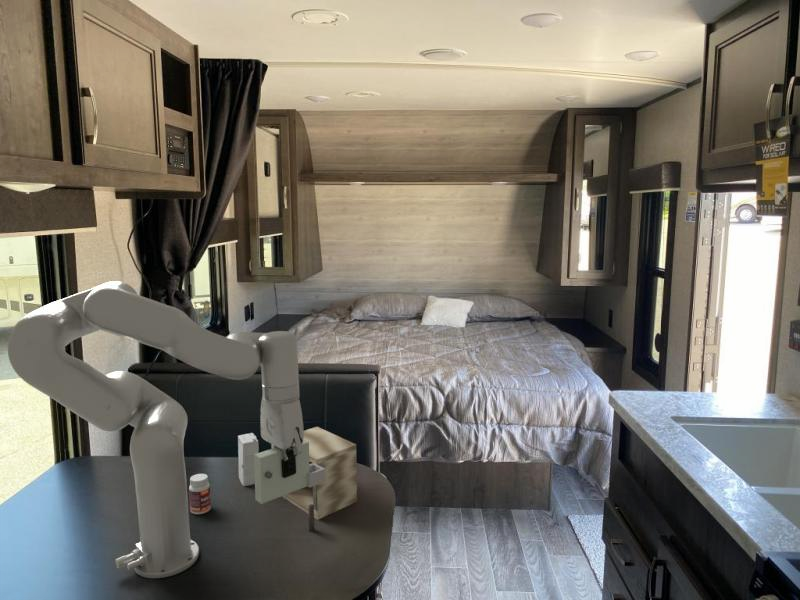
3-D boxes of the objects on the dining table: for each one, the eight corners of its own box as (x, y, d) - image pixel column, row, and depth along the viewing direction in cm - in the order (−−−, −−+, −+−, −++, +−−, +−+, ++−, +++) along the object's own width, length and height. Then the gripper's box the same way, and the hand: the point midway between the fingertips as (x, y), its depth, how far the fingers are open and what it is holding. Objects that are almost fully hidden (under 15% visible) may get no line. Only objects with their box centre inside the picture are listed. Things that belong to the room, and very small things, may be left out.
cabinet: (311, 532, 129) (309, 469, 126) (265, 501, 142) (263, 444, 140) (365, 506, 140) (364, 448, 137) (318, 479, 153) (317, 426, 151)
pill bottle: (204, 515, 135) (202, 482, 134) (186, 513, 136) (184, 480, 135) (214, 505, 140) (213, 473, 139) (197, 503, 141) (195, 471, 140)
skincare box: (238, 477, 154) (236, 435, 152) (254, 473, 157) (252, 432, 155) (243, 487, 149) (241, 443, 147) (260, 483, 151) (258, 440, 149)
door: (264, 505, 117) (262, 459, 115) (253, 498, 120) (251, 453, 118) (325, 481, 128) (325, 439, 126) (314, 475, 131) (313, 433, 129)
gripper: (245, 386, 122) (250, 467, 125) (287, 404, 111) (291, 492, 114) (275, 378, 127) (279, 456, 130) (318, 395, 116) (322, 479, 119)
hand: (285, 472), depth 122 cm, fingers closed on door, 2 cm apart
